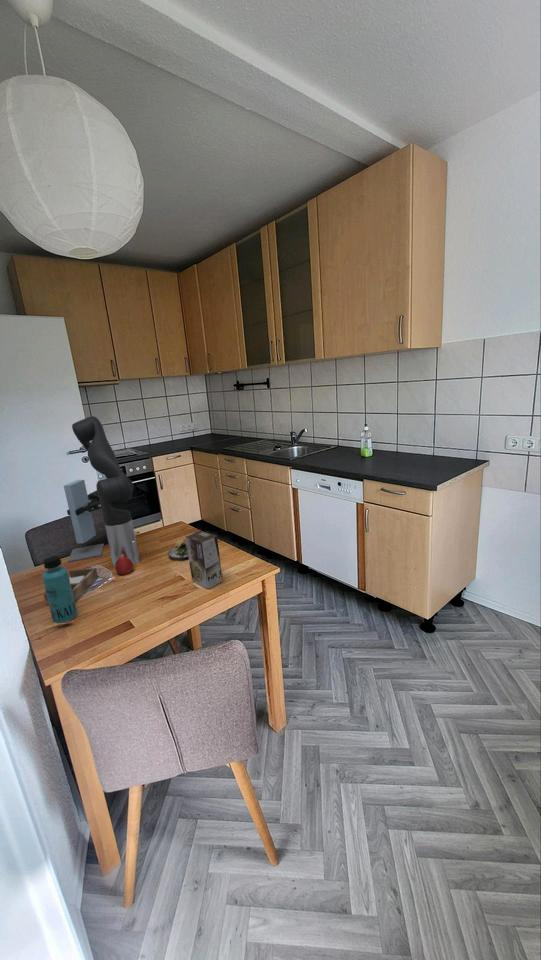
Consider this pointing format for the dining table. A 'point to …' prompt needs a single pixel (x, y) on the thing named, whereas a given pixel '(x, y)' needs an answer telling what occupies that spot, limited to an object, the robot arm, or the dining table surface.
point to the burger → (178, 551)
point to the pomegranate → (123, 565)
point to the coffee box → (204, 558)
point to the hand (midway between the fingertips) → (72, 512)
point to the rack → (83, 585)
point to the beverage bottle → (59, 591)
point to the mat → (86, 552)
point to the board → (76, 500)
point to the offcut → (76, 579)
